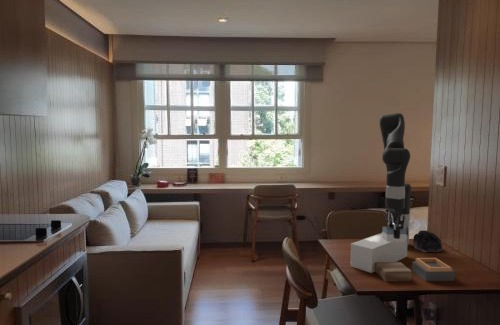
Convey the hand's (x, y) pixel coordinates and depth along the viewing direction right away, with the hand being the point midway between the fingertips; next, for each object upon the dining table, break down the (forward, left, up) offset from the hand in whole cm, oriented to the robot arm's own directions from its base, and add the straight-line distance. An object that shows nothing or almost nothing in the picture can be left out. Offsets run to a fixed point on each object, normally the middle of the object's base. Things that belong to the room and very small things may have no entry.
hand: (394, 236), depth 156 cm
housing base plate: (0, 0, -1) cm, 1 cm away
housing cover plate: (0, 0, +2) cm, 2 cm away
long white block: (-18, +1, -17) cm, 25 cm away
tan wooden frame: (0, +17, -17) cm, 24 cm away
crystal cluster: (-35, +33, -17) cm, 51 cm away
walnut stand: (0, 0, -17) cm, 17 cm away
